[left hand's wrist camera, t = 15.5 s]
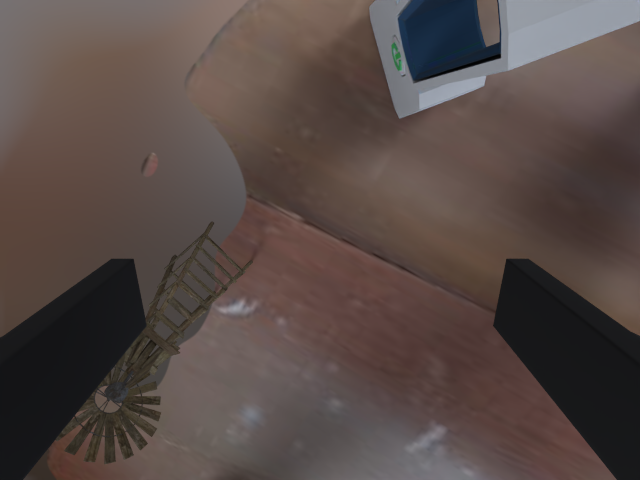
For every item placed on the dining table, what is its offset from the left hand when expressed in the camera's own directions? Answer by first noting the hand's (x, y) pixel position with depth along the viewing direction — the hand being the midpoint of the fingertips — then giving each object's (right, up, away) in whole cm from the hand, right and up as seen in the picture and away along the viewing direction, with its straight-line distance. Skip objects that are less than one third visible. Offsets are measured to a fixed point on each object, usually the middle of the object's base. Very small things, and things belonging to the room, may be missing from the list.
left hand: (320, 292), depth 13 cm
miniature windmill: (-15, -1, +38) cm, 41 cm away
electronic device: (+11, +24, +29) cm, 39 cm away
